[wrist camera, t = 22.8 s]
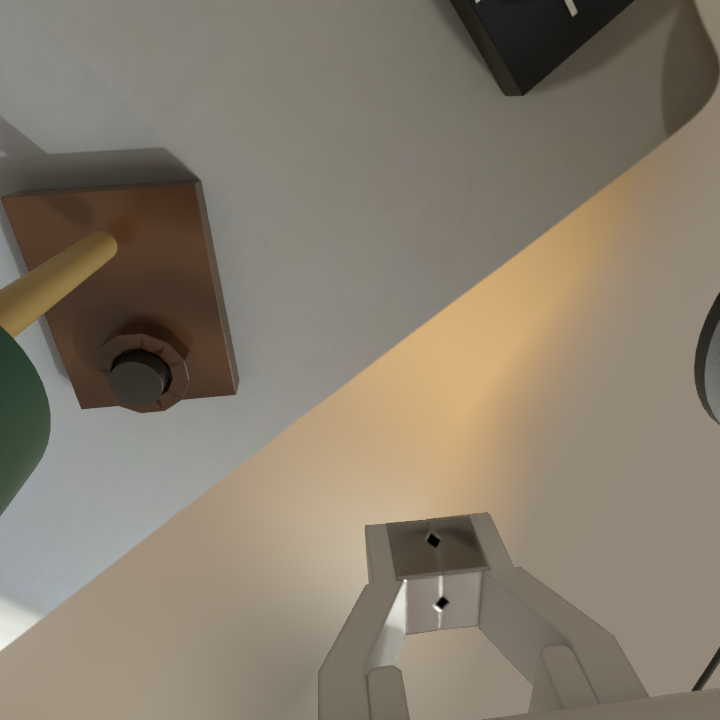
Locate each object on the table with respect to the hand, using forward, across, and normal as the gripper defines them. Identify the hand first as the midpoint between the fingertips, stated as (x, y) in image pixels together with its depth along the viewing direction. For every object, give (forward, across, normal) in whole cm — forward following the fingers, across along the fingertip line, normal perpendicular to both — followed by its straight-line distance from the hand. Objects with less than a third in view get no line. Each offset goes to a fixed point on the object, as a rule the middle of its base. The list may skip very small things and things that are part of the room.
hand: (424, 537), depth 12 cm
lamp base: (+28, +16, +2) cm, 32 cm away
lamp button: (+24, +16, +7) cm, 30 cm away
